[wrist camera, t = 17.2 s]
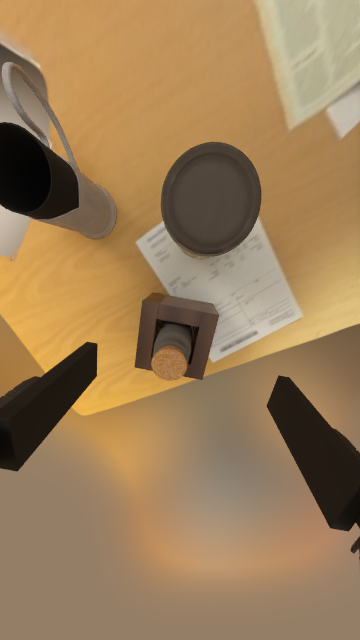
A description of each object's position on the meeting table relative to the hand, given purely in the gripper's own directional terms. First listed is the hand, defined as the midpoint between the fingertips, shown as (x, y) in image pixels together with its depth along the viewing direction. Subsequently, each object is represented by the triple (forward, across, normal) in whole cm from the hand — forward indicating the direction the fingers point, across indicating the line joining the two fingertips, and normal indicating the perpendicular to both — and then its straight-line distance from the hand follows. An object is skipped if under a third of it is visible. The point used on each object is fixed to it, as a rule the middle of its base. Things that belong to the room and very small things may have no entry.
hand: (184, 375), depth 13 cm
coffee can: (+25, 0, +14) cm, 28 cm away
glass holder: (+24, -20, +16) cm, 35 cm away
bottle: (+24, -2, -5) cm, 25 cm away
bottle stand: (+24, -2, -5) cm, 25 cm away
